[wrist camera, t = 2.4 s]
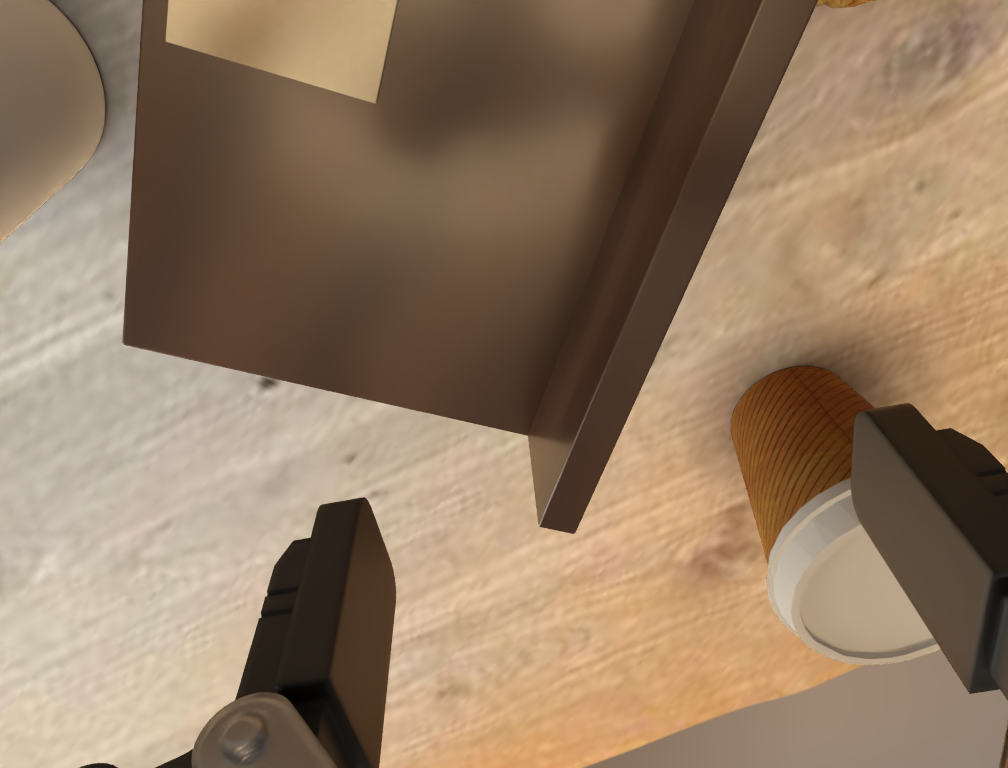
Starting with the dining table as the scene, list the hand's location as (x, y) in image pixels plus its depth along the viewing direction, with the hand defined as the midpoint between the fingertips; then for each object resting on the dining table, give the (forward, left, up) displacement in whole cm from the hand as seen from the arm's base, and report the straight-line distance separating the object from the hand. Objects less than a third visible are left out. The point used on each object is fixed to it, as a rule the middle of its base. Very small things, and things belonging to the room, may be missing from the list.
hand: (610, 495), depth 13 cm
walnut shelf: (-4, 0, -23) cm, 23 cm away
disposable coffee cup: (+18, -10, -23) cm, 31 cm away
